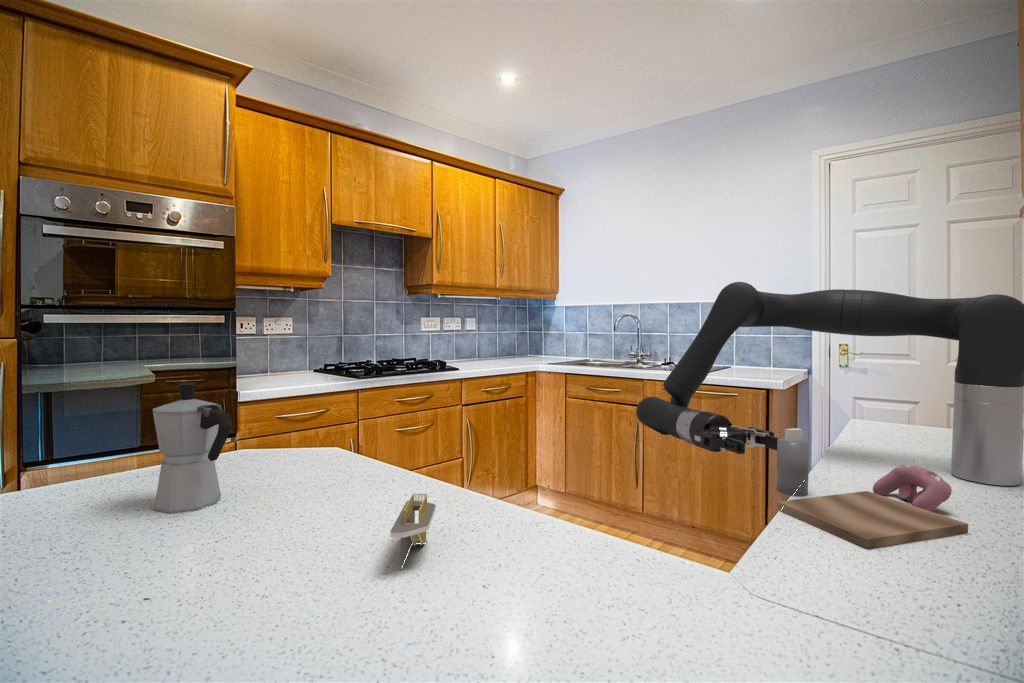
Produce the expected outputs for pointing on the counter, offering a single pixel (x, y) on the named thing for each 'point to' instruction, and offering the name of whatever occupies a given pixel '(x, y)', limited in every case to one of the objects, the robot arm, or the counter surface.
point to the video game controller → (915, 486)
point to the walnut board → (871, 519)
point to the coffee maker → (189, 451)
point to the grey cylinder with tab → (792, 463)
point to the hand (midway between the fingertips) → (763, 447)
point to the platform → (413, 523)
